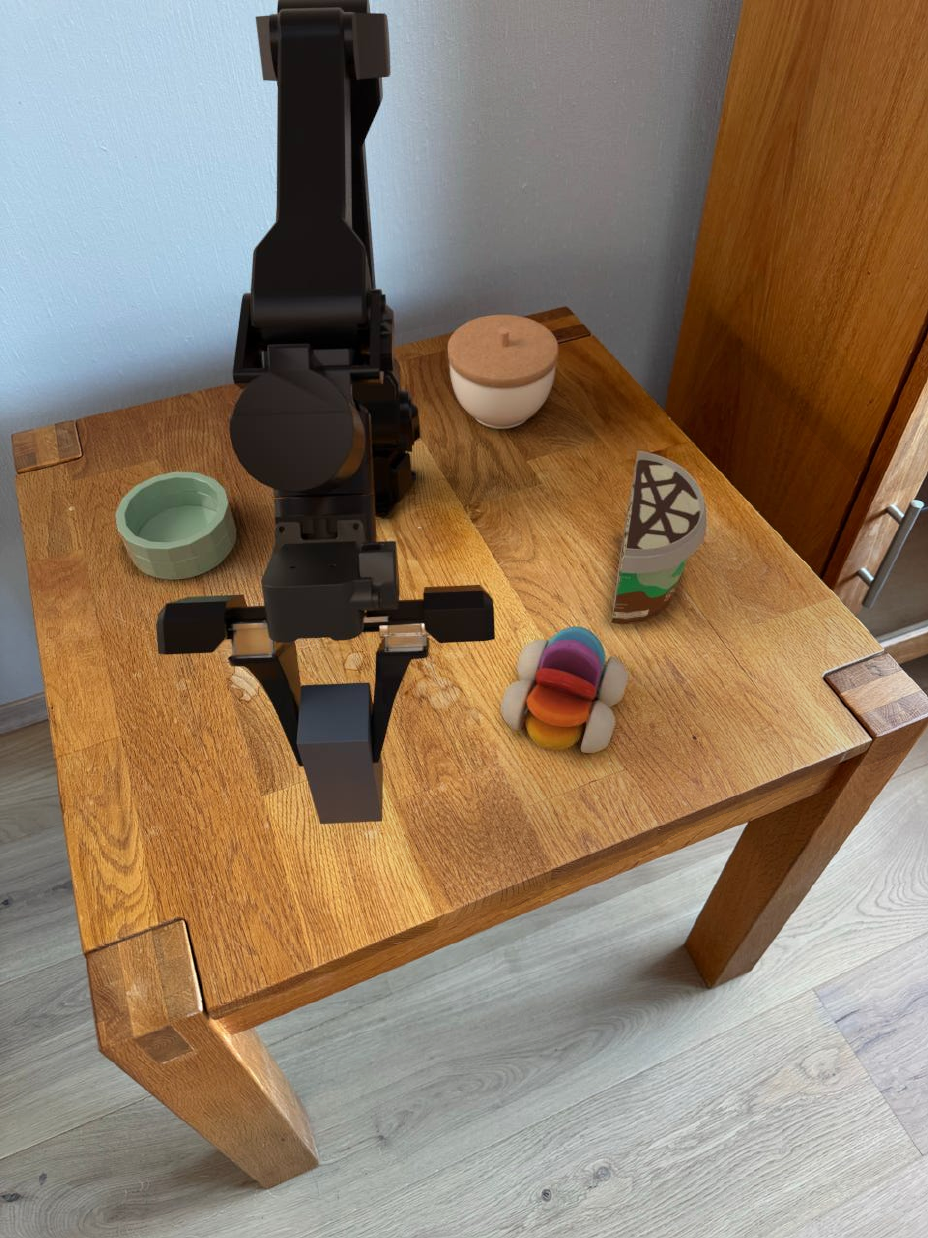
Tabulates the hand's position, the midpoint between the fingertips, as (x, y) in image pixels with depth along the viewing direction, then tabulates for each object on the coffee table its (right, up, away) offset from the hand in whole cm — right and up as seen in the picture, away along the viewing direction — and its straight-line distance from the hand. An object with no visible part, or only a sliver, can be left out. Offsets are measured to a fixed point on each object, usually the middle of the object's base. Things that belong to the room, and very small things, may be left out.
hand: (339, 763), depth 54 cm
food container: (+24, +11, +25) cm, 36 cm away
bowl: (-18, +16, +29) cm, 38 cm away
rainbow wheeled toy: (+15, +1, +17) cm, 23 cm away
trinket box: (+11, +30, +40) cm, 52 cm away
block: (0, -3, +6) cm, 7 cm away
